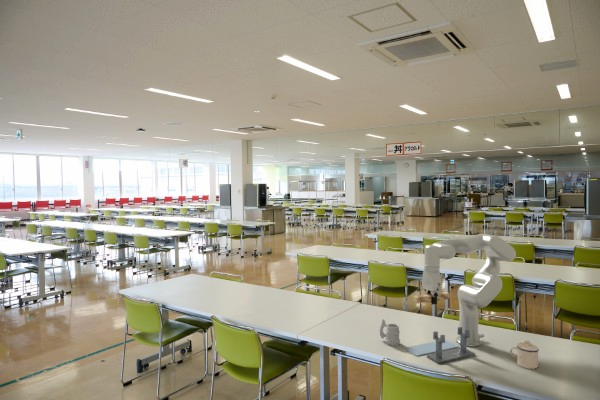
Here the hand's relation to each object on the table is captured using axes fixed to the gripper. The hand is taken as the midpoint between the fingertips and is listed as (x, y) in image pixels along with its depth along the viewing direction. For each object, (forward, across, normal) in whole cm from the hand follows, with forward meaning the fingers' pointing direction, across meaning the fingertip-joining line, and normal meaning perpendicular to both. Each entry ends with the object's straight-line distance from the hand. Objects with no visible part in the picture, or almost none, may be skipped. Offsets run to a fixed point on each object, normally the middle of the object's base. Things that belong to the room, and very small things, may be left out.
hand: (431, 302), depth 203 cm
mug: (+25, -15, -16) cm, 33 cm away
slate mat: (+24, 0, 0) cm, 24 cm away
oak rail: (-3, 0, 0) cm, 3 cm away
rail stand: (+24, +12, +2) cm, 27 cm away
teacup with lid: (+24, +32, +28) cm, 49 cm away
